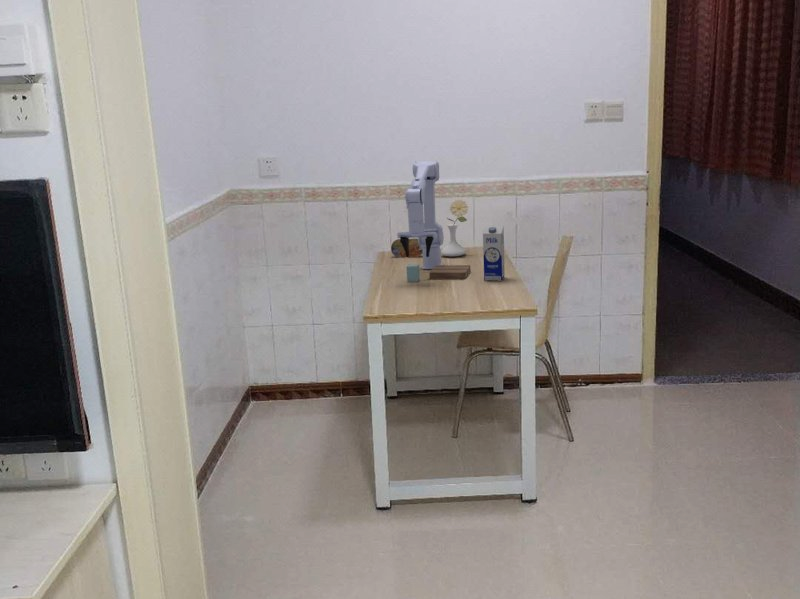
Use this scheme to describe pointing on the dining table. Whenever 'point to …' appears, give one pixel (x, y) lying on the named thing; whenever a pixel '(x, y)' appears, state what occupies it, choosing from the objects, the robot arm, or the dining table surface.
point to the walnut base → (450, 272)
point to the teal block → (412, 272)
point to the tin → (414, 248)
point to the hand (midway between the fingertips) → (417, 256)
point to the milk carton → (493, 252)
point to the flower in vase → (453, 247)
